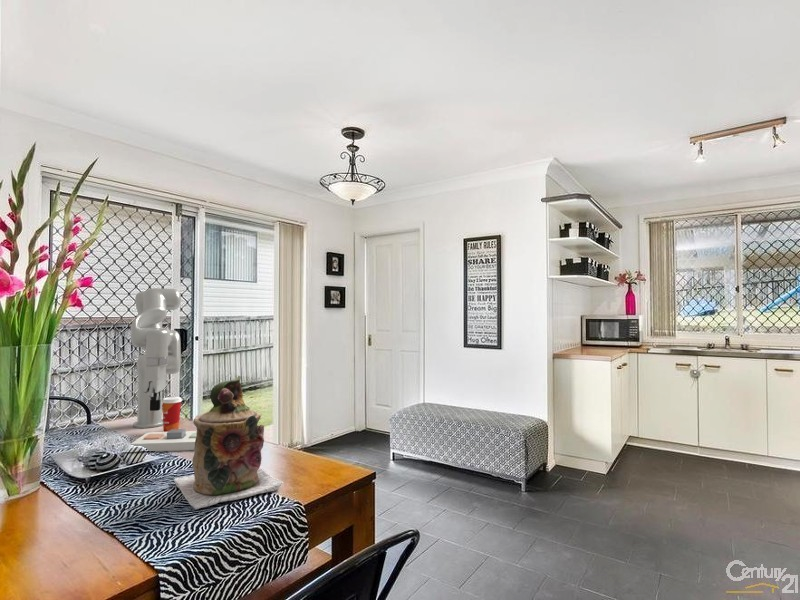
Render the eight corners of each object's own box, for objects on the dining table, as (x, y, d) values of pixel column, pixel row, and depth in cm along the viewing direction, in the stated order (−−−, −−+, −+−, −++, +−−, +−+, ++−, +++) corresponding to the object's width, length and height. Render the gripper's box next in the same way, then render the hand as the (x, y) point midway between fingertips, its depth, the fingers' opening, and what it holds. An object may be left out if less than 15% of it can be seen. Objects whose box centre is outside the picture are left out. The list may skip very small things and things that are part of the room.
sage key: (193, 438, 174) (193, 432, 174) (207, 438, 175) (207, 432, 175) (189, 442, 169) (189, 436, 169) (203, 442, 170) (204, 435, 170)
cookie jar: (171, 484, 132) (174, 375, 133) (252, 466, 148) (255, 369, 149) (195, 513, 113) (198, 386, 114) (285, 490, 129) (288, 378, 130)
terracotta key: (148, 440, 172) (148, 434, 172) (163, 439, 173) (163, 433, 173) (143, 444, 167) (143, 437, 167) (158, 443, 167) (158, 437, 168)
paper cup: (161, 430, 191) (162, 397, 192) (181, 428, 194) (182, 396, 195) (160, 434, 184) (161, 400, 184) (180, 433, 187) (181, 399, 188)
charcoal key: (171, 435, 173) (171, 429, 173) (185, 435, 174) (185, 428, 174) (166, 439, 168) (166, 432, 168) (181, 438, 169) (181, 432, 169)
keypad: (147, 439, 177) (147, 432, 177) (216, 437, 181) (217, 430, 181) (130, 452, 161) (130, 443, 161) (206, 449, 165) (207, 441, 165)
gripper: (153, 359, 178) (151, 406, 177) (137, 364, 163) (136, 415, 162) (173, 359, 179) (172, 405, 178) (160, 364, 164) (158, 414, 164)
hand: (155, 410), depth 170 cm, fingers closed
